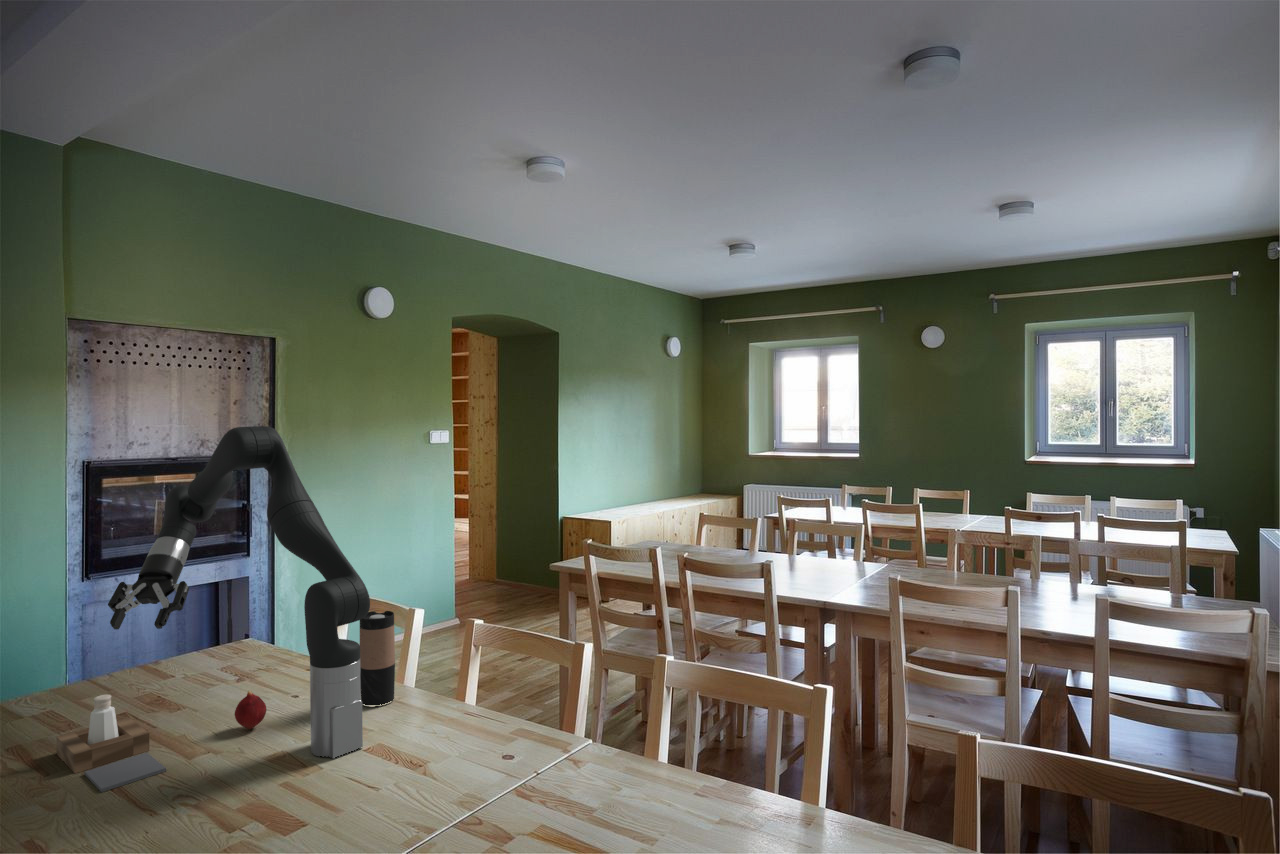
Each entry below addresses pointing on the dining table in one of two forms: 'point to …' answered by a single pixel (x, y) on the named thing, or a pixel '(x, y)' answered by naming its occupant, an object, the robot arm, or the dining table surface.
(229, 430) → the robot arm
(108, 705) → the pepper shaker
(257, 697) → the onion
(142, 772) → the rubber pad
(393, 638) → the travel mug
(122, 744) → the socket block
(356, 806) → the dining table surface
